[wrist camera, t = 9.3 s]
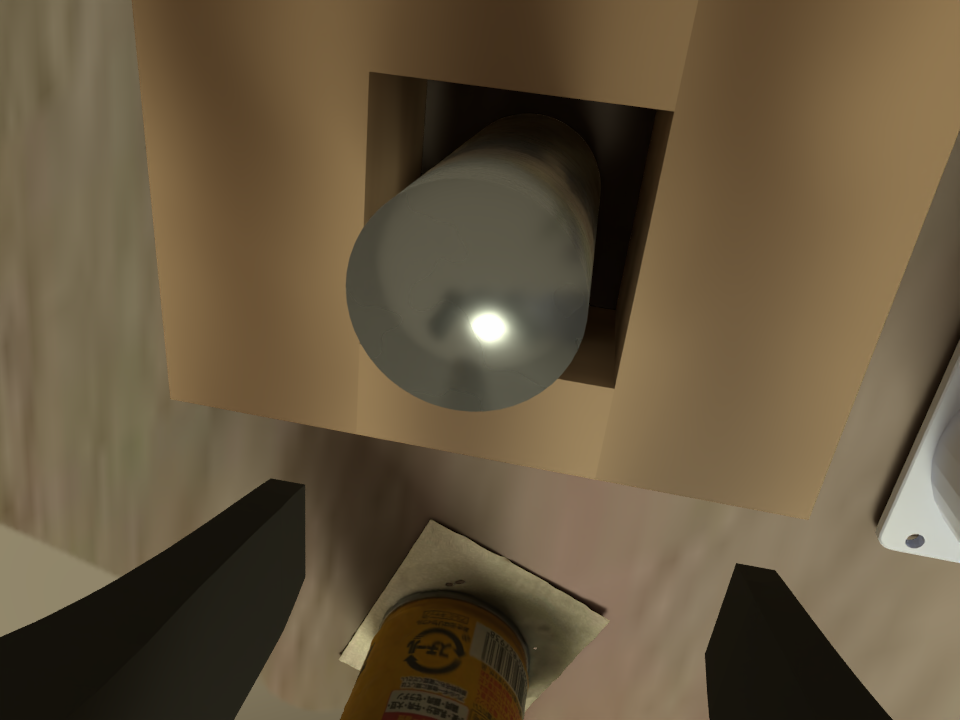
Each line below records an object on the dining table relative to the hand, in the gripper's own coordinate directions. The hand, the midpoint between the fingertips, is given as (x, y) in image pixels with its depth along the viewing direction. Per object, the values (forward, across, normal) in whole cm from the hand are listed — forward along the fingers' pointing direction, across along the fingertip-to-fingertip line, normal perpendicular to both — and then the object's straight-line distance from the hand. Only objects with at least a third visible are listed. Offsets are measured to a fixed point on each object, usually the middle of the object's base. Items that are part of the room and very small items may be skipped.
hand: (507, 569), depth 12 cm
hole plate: (+10, +1, -4) cm, 11 cm away
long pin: (+10, +1, -4) cm, 11 cm away
